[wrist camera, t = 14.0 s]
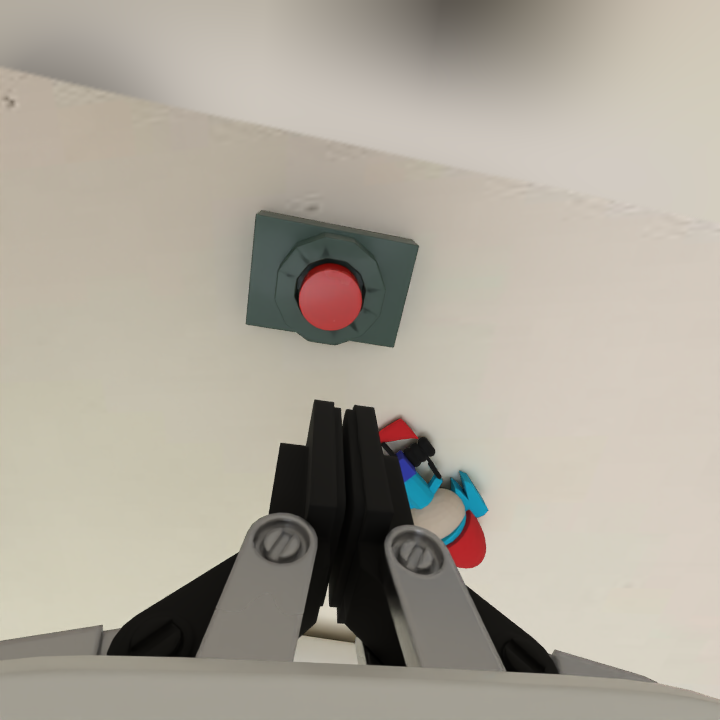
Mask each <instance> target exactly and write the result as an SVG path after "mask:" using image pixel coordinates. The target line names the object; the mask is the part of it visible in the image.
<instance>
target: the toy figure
mask: <svg viewBox="0 0 720 720" xmlns="http://www.w3.org/2000/svg"><path fill="white" fill-rule="evenodd" d="M379 436H380V441H381V446H382V447H383V448H384V449H385V450H386V451H387V452H388V453H389V455H390V456H395V457H397V458H398V460H399V463H400V467H401V471H402V476H403V480H404V484H405V488H406V492H407V496H408V501H409V505H410V509H411V513H412V517H413V522H414V525H415V526H419V527H422V528H425V529H427V530H429V531H431V532H432V533H434V534H436V535H437V536H438V537H439V538H440V539H441V540H442V541H443V542H444V544H445V545H446V547H447V548H448V550H449V552H450V554H451V556H452V558H453V560H454V562H455V564H456V567H459V568H473V567H475V566H478V565H479V564H480V563H481V562H482V560H483V559H484V557H485V553H486V543H485V537H484V533H483V531H482V528H481V526H480V524H479V522H478V520H477V518H476V517H481V516H483V515H485V513H486V512H487V511H488V508H487V506H486V505H485V503H484V501H483V499H482V497H481V496H480V494H479V493H478V491H477V489H476V488H475V486H474V485H473V483H472V482H471V480H470V479H469V477H468V475H467V474H466V473H463V472H461V471H459V473H460V477H461V481H462V485H463V488H462V487H461V486H460V485H459V484H458V483H457V482H456V481H455V480H454V479H452V478H451V477H450V478H451V490H448V489H444V488H439V487H440V485H441V483H442V482H443V480H442V478H441V477H442V476H441V475H440V473H439V472H438V470H437V469H436V467H435V465H434V463H433V462H432V461H431V459H430V458H429V457H431V456H433V455H434V454H435V449H434V447H433V446H432V445H431V443H430V442H429V441H428V440H427V438H425V437H421V438H420V439H419V440H418V444H417V443H413V444H411V446H410V448H406V449H405V450H404V453H403V452H402V451H401V450H400V451H399V452H397V453H396V454H395V453H394V452H393V451H392V450H391V449H390V448H389V446H388V445H387V444H386V443H385V442H390V441H396V440H401V439H409V438H414V439H418V437H417V436H416V435H415V433H414V432H413V431H412V430H411V429H410V428H409V426H408V425H407V424H406V423H405V422H404V421H403V420H402V419H398V420H396V421H394V422H393V423H391V424H389V425H388V426H386V427H385V428H383V429H382V430H380V431H379ZM428 456H429V457H428ZM426 459H427V461H428V465H429V466H430V468H431V470H432V471H433V473H434V475H433V477H432V478H431V480H430V482H429V483H428V484H427V483H426V482H425V480H424V479H423V478H422V477H421V476H420V475H419V474H418V473H417V472H416V470H415V467H418V466H419V465H420V464H421V462H424V461H425V460H426Z"/></svg>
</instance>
